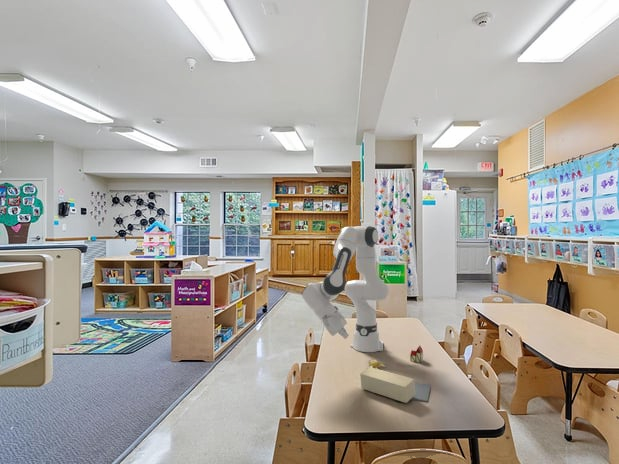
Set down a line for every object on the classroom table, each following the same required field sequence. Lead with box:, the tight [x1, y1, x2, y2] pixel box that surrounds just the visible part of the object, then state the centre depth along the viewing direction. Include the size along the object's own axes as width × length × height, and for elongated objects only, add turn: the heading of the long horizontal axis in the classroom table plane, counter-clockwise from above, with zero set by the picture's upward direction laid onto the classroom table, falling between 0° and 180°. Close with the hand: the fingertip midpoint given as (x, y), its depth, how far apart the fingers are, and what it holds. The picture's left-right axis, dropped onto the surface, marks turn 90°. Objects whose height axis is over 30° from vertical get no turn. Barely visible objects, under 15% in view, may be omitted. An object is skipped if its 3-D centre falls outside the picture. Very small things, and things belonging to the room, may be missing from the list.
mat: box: [369, 381, 432, 403], centre depth 151 cm, size 16×23×1 cm
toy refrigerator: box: [360, 366, 415, 404], centre depth 147 cm, size 8×7×21 cm
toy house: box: [409, 345, 424, 364], centre depth 184 cm, size 6×7×8 cm
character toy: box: [368, 358, 386, 369], centre depth 175 cm, size 8×3×8 cm
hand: (347, 337), depth 162 cm, fingers closed
